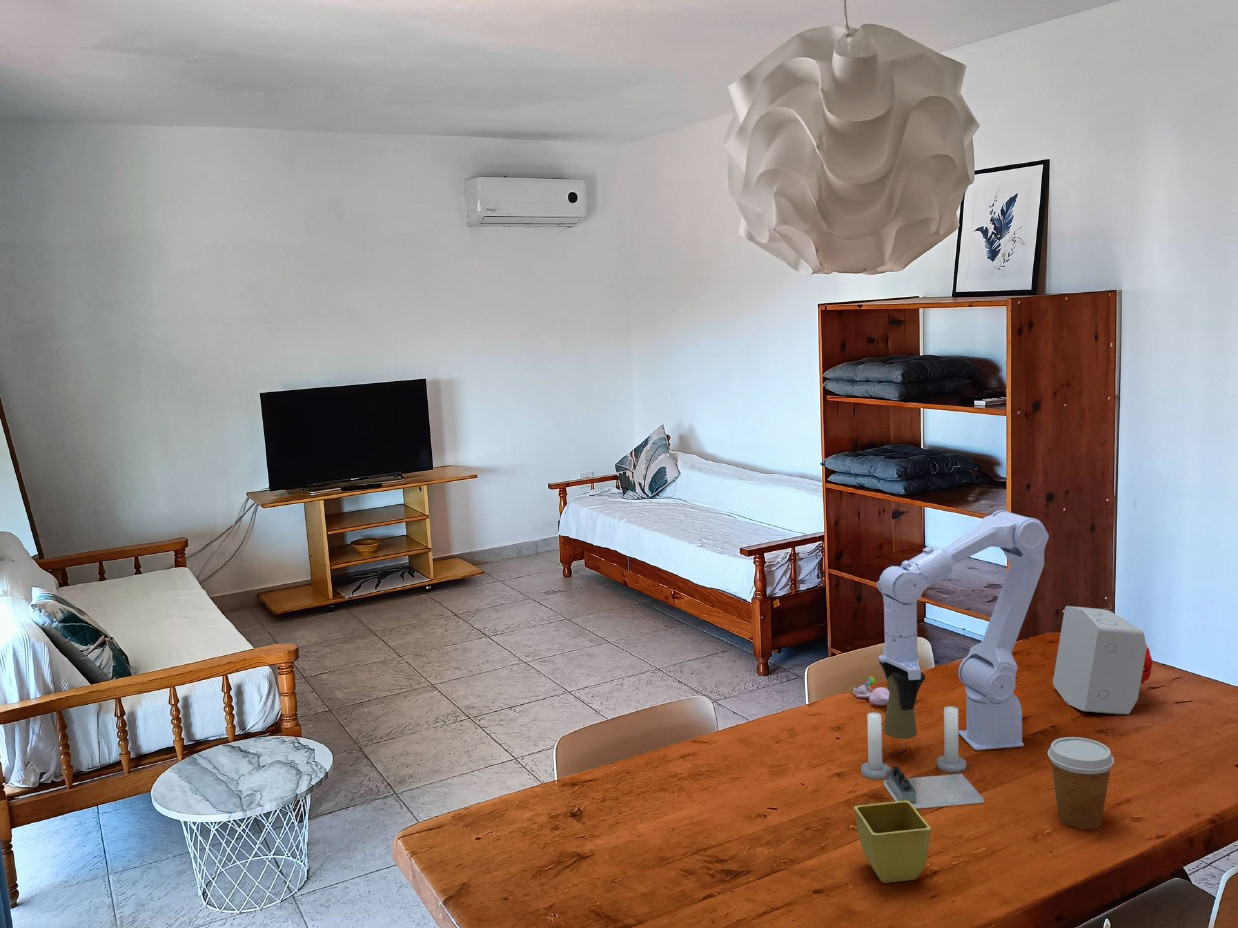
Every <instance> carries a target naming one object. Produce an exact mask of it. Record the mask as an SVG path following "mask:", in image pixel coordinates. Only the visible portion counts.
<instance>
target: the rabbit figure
mask: <svg viewBox="0 0 1238 928" xmlns="http://www.w3.org/2000/svg"><path fill="white" fill-rule="evenodd" d="M868 678H869V680H868V681H866V682H865V684H860V683H858V685H859V686H858V687H857V688H856V687H854V686H852V687H851V686H850V685H849V686H850V687H849V693H850V695H852V694H853V695H854V696H855V697H856V698H857V699H869V703H871V704H872V705H876V706H881V707H882V706H885V705H887V704H888V698H889V691H888V689H887V687H884V686H883V687H876V688H875V689H872V688H871V687H873V686H875V684H876V680H875V678H874V677H873V676H868Z"/></svg>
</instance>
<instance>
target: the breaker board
mask: <svg viewBox="0 0 1238 928" xmlns="http://www.w3.org/2000/svg"><path fill="white" fill-rule="evenodd" d="M885 779H886V780H885ZM885 779H883V786H884V787H885V789H886V790H887V791H888V793H889V794H890V796H891V798H893V800H894V802H898V801H909V802H910V803H911V804H912V805H913V806H914V808H915V809H916V810H917V809H918V810H919V809H928V808H941V807H949V806H950V807H951V806H952V807H953V806H961V805H962V806H963V805H975V804H984V797H983V796H982V795H981V794H980V793H979V792H978V790H977V789H976V788H975V787H974V786H973V784H972V783H971V782H970V781H969V780H968V779H967V778H966V776H964V774H962V773H952V774H943V775H931V776H920V777H909V778H907V777H906V776H905V774H904V773H903V772H902V771H901V769H900V767H899V766H898V765H893V766H891V769H890V771H886V778H885Z"/></svg>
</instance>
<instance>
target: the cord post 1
mask: <svg viewBox="0 0 1238 928" xmlns="http://www.w3.org/2000/svg"><path fill="white" fill-rule="evenodd" d="M866 716H867V748H868V749H867V752H868V753H867V754H868V760H867V762H864V763H862V764H861V766H860V767H861V768H860V770H861V775H862V776H863V777H865V778H866V777H867V778H866V779H869V778H870V780H875V779H876V780H877V779H880V780H885V779H886V771H890V770H891V768H890V765H888V764H887V763H884V762H883V740H882V739H883V737H882V736H883V735H882V730H883V729H882V714H881V713H879V712H868V713H867V715H866ZM877 781H878V780H877Z"/></svg>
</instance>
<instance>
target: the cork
mask: <svg viewBox="0 0 1238 928" xmlns="http://www.w3.org/2000/svg"><path fill="white" fill-rule="evenodd" d="M886 689H888V691H889V698H888V704H886V705H887V706H886V710H885V718H884V724H883V729H882V730H883V733H884V734H885V735H886V736H888V737H890V738H894V739H899V740H909V739H912V738H915V737H916V736H917V734H918V733H917V732H918V731H917V723H916V715H915V708H914V709H913V710H902V709H901V706H900V702H899V695H898V690H897V686H896V683H895V681H894V679H893V677H892V675H890V676H889V677H888V679H886Z"/></svg>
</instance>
